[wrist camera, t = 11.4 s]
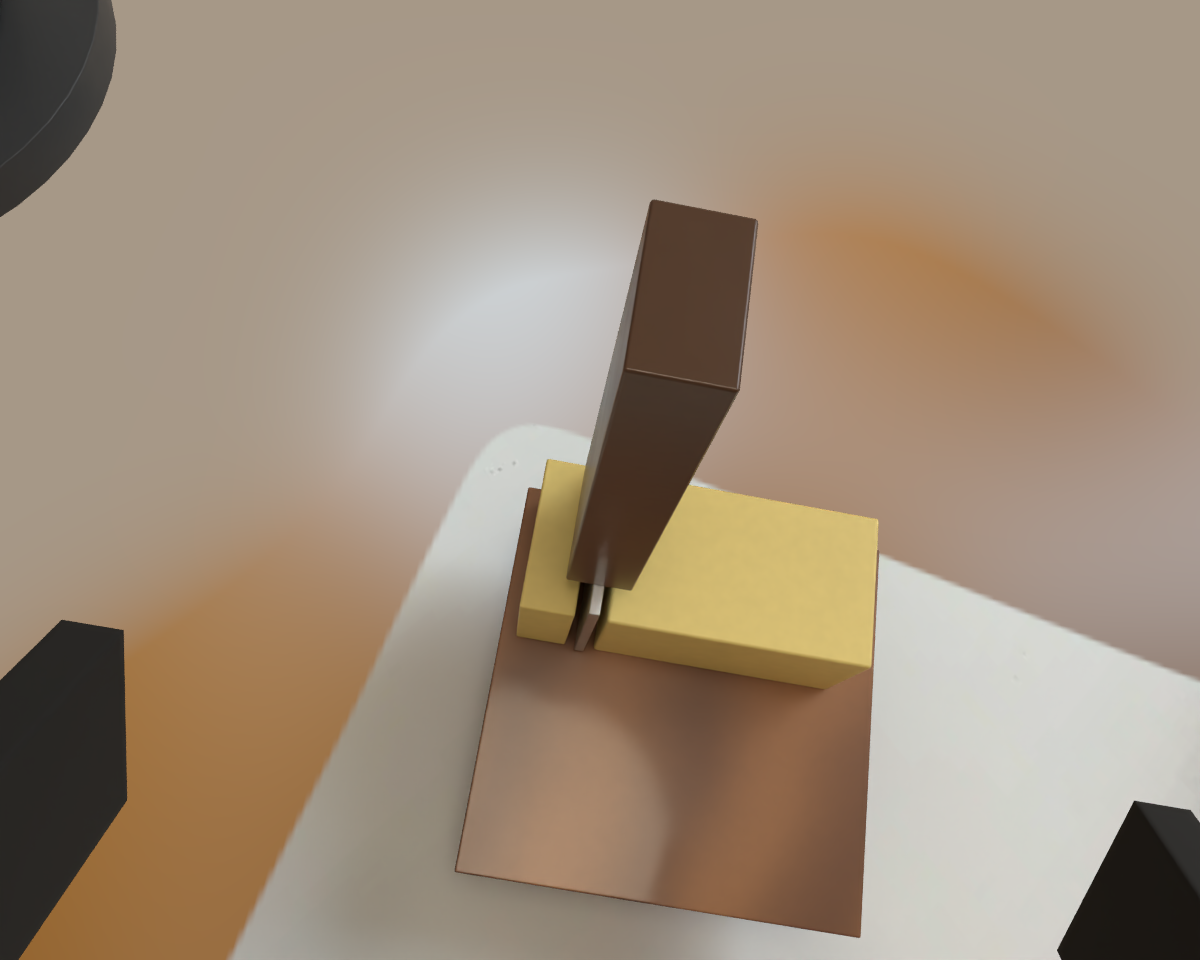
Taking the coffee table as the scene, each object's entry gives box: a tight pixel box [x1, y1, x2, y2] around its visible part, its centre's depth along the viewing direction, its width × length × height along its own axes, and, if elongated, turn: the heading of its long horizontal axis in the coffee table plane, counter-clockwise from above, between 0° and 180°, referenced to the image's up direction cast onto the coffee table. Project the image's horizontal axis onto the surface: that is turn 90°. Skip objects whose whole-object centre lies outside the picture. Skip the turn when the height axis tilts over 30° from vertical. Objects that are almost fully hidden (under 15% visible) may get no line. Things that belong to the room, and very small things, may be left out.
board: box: [455, 488, 879, 938], centre depth 31 cm, size 12×12×2 cm
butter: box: [516, 459, 878, 689], centre depth 30 cm, size 10×4×4 cm, turn 81°
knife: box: [566, 200, 758, 651], centre depth 23 cm, size 2×5×17 cm, turn 172°
